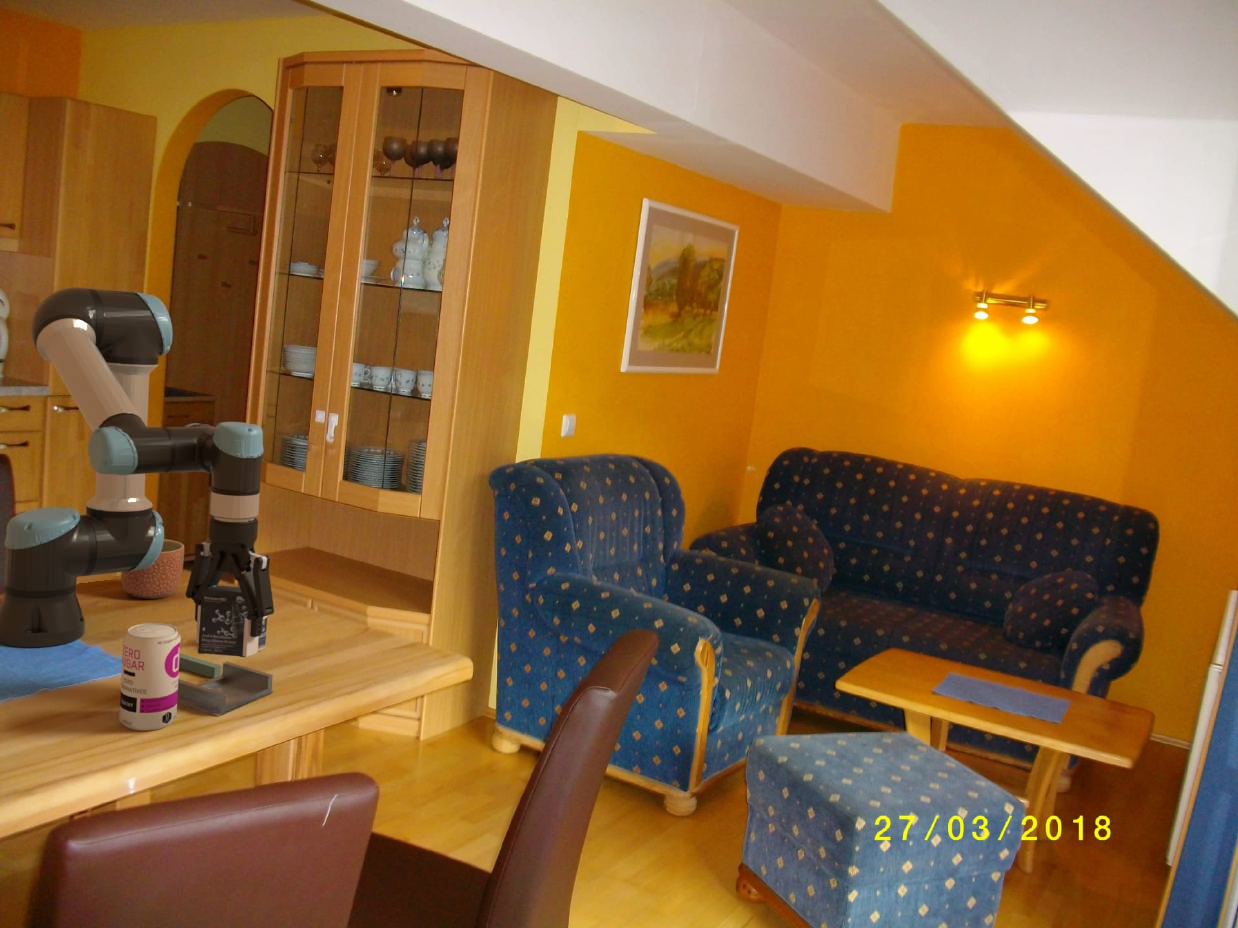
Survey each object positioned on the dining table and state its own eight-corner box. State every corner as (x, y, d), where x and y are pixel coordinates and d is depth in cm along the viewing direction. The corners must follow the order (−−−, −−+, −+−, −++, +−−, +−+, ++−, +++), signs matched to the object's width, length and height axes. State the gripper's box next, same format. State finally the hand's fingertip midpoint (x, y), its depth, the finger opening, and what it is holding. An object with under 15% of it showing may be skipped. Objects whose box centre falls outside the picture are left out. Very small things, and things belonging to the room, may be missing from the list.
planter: (186, 601, 223) (189, 551, 222) (122, 604, 217) (125, 553, 215) (176, 585, 234) (179, 537, 232) (115, 587, 227) (117, 538, 225)
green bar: (154, 660, 189) (154, 649, 188) (160, 658, 190) (161, 647, 190) (214, 678, 184) (214, 667, 183) (220, 676, 185) (221, 665, 185)
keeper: (171, 701, 172) (172, 681, 171) (228, 679, 184) (229, 660, 183) (218, 716, 168) (219, 696, 168) (273, 692, 180) (274, 673, 180)
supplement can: (184, 713, 168) (189, 624, 166) (163, 734, 160) (168, 641, 158) (133, 708, 168) (137, 619, 165) (109, 729, 159) (114, 635, 157)
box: (197, 654, 172) (200, 592, 170) (207, 643, 177) (210, 583, 176) (246, 658, 172) (250, 596, 171) (255, 647, 178) (258, 587, 177)
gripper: (303, 525, 171) (294, 656, 174) (200, 502, 179) (193, 628, 182) (271, 532, 164) (263, 668, 167) (165, 508, 172) (159, 638, 175)
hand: (226, 647), depth 175 cm, fingers closed on box, 9 cm apart
